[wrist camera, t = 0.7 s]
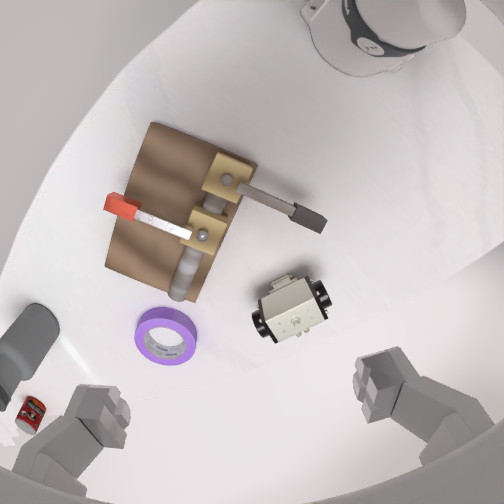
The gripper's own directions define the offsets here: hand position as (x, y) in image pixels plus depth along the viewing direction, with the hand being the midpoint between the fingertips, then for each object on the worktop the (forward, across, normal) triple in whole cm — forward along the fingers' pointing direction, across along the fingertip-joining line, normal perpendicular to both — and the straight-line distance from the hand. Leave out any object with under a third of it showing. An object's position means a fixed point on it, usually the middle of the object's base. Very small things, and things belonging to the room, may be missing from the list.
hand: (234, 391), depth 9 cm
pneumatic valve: (+38, -7, +19) cm, 43 cm away
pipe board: (+38, +5, +6) cm, 39 cm away
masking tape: (+39, +16, +26) cm, 49 cm away
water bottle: (+39, +46, +21) cm, 64 cm away
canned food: (+39, +72, +53) cm, 98 cm away
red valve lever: (+31, +10, +1) cm, 33 cm away
